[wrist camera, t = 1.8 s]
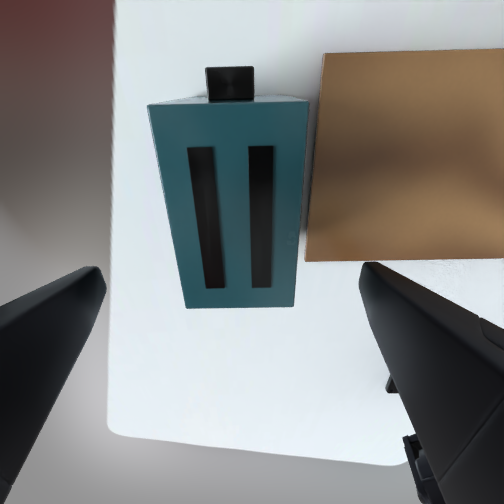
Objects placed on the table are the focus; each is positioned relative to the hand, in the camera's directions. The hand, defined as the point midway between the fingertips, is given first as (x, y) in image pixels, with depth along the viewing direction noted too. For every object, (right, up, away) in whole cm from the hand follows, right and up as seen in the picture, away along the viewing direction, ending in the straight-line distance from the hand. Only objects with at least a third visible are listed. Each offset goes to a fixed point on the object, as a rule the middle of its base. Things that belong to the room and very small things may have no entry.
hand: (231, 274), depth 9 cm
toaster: (0, +6, +10) cm, 12 cm away
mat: (+16, +6, +10) cm, 20 cm away
